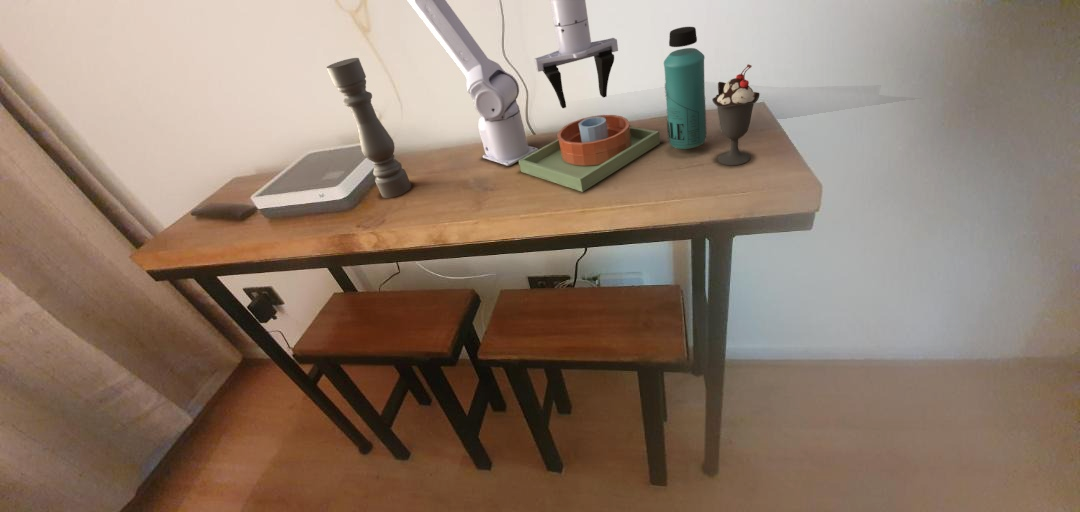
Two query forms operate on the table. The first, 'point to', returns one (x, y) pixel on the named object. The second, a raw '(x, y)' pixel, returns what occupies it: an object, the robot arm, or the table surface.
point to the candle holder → (369, 127)
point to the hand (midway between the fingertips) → (583, 101)
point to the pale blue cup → (593, 129)
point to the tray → (583, 177)
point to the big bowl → (597, 150)
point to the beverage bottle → (685, 91)
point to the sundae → (735, 115)
